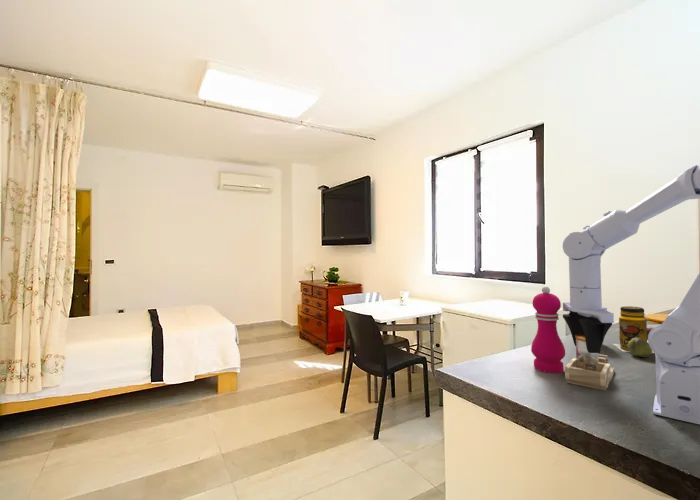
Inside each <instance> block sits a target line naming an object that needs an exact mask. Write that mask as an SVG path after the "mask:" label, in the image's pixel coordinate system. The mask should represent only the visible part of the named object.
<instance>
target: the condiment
mask: <svg viewBox="0 0 700 500" xmlns="http://www.w3.org/2000/svg"><path fill="white" fill-rule="evenodd" d="M619 314H620V316H619V317H618V325H619V326H618V327H619V330H618V331H619V332H618V333H619V336H618V337H619V343H618V344H617V343H612V345H613V346H615V347H616V348H617V349H618V350H620V351H622V352H624V353H631V352H630V351H629V349H628V343H629V341H630V340H632V339H633V338H641V339H643V340H644V341H646V342H647V343H648V327H647V326H648V325H647V318H646V317H645V315H646V313H645V309H644V308H643V307H639V306H631V305H630V306H629V305H628V306H620V313H619ZM651 354H655V353H654V352H653V351H652V353H651Z"/></svg>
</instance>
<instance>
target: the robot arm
mask: <svg viewBox="0 0 700 500" xmlns="http://www.w3.org/2000/svg"><path fill="white" fill-rule="evenodd" d="M697 199H699V200H700V164H699V165H697V164H695V165H693V166H691V167H690V168H687V169H686V170H684V171H683V172H682V173H681V174H679V175H678V176H677V177H675V178H674V179H673V180H671V181H670V182H668V183H666V184H665V185H663V186H662V187H660V188H659V189H657V190H655V192H653V193H651V194H650V195H648V196H647V197H645V198H644V199H643V200H641V201H639V202H638V203H636V204H634V205H633V206H632V207H630V208H629V209H628V210H622V209H616V210H613V211H611V210H608V211H606V212H605V213H603V214H602V215H603V218H601V219H599V220H598V221H596V222H594V223H593V224H591V225H585V226H583V229H582V231H573V232H570V233H569V234H568V235H566V236H565V238H564V240H563V243H562V251H563V253H564V254H565V255H566V257H568V274H569V275H568V276H569V277H568V278H569V279H568V280H569V281H568V282H569V302H562V311H563V312H568V314H567V313H564V314H562V319H564V321H565V322H566V324H567V326H568V329H569V332H570V334H571V337H572V341H573V345H574V346H575V347H576V338H575V335H576V334H581V333H582V334H585V340H586V347H587V350H588V352H589V353H600V352H601V350H602V348H601V347H603V344H604V339H605V336H607V333H608V331H609V329H610V328H611V327H612V326H613V324H614V323H615V319H614V317H615V316H614V312H612V311H611V312H610V311H608V308H607V307H606V306H603V305H602V301H603V300H602V279H601V278H602V273H601V272H602V270H601V259H602V256H603V255H604V254H605V252H606V251H607V250H608V249H610V248H611V247H613V246H615V245H617V244H619V243H621V242H622V241H625V240H627V239H628V238H630V237H632V236H634V235H636V234H637V233H638V231H639V228H640V225H641V224H642V223H644V222H646V221H648V220H651V218H654V217H655V216H657V215H658V216H659V214H662V213H664V212H666V211H668V210H670V209H672V208H673V207H676V206H677V205H680V204H681V203H684V202H686V201H688V200H697ZM602 343H603V344H602ZM647 343H648V344H649V346H650V348H651V349H652V351H653V352H654V353H653V354H655V376H656V377H655V379H656V394H655V395H654V400H653V408H652V414H654V415H657V416H660V417H661V416H662V417H666V418H669V419H674V420H678V421H683V422H687V423H692V424H697V425H700V271H699V273H698V274H697V276H696V277H695V279H694V281H693V282H692V284H691V286H690V287H689V289H688V291H687V292H686V294H685V296H684V298H683V299H682V301H681V302H680V304H679V305H678V306H677V307H676V308H675V309H673V310H672V311H671V312H670V313H669V314H668V315H667V316H666V317H665V319H664V321H663V322H662V323H661V324H659V325H657V326H654V327H653V328H652V329H651V330H650V331H649V333H648V334H647Z"/></svg>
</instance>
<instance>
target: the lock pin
mask: <svg viewBox="0 0 700 500" xmlns="http://www.w3.org/2000/svg"><path fill="white" fill-rule="evenodd" d="M598 354H601V355H604V353H602V351H600V353H598ZM588 367H593V368H596V364H588Z"/></svg>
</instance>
